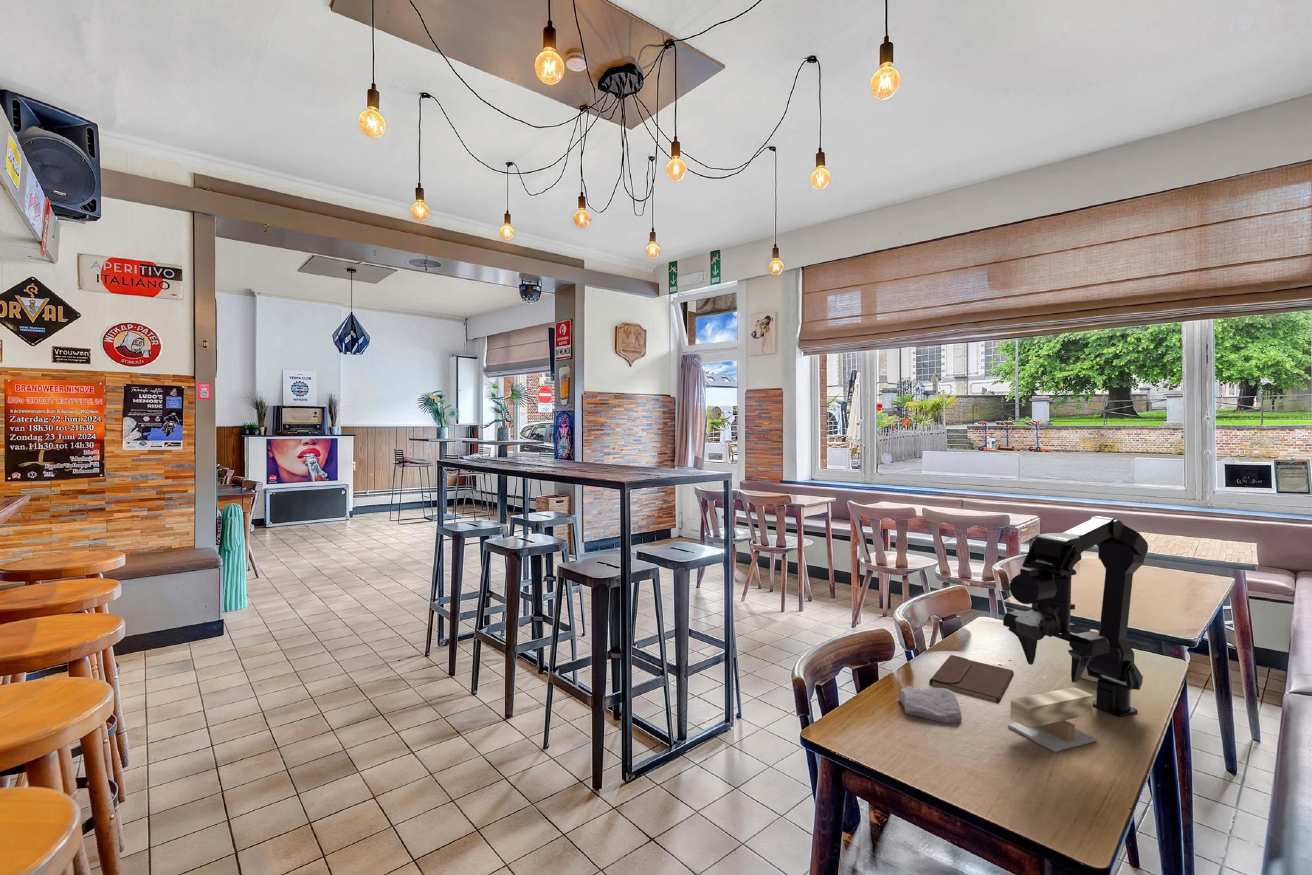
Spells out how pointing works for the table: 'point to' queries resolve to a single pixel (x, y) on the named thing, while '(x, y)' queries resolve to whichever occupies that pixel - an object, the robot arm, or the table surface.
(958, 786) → the table surface
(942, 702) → the stone block
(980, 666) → the notebook
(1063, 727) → the fulcrum stand
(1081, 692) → the beech bar
